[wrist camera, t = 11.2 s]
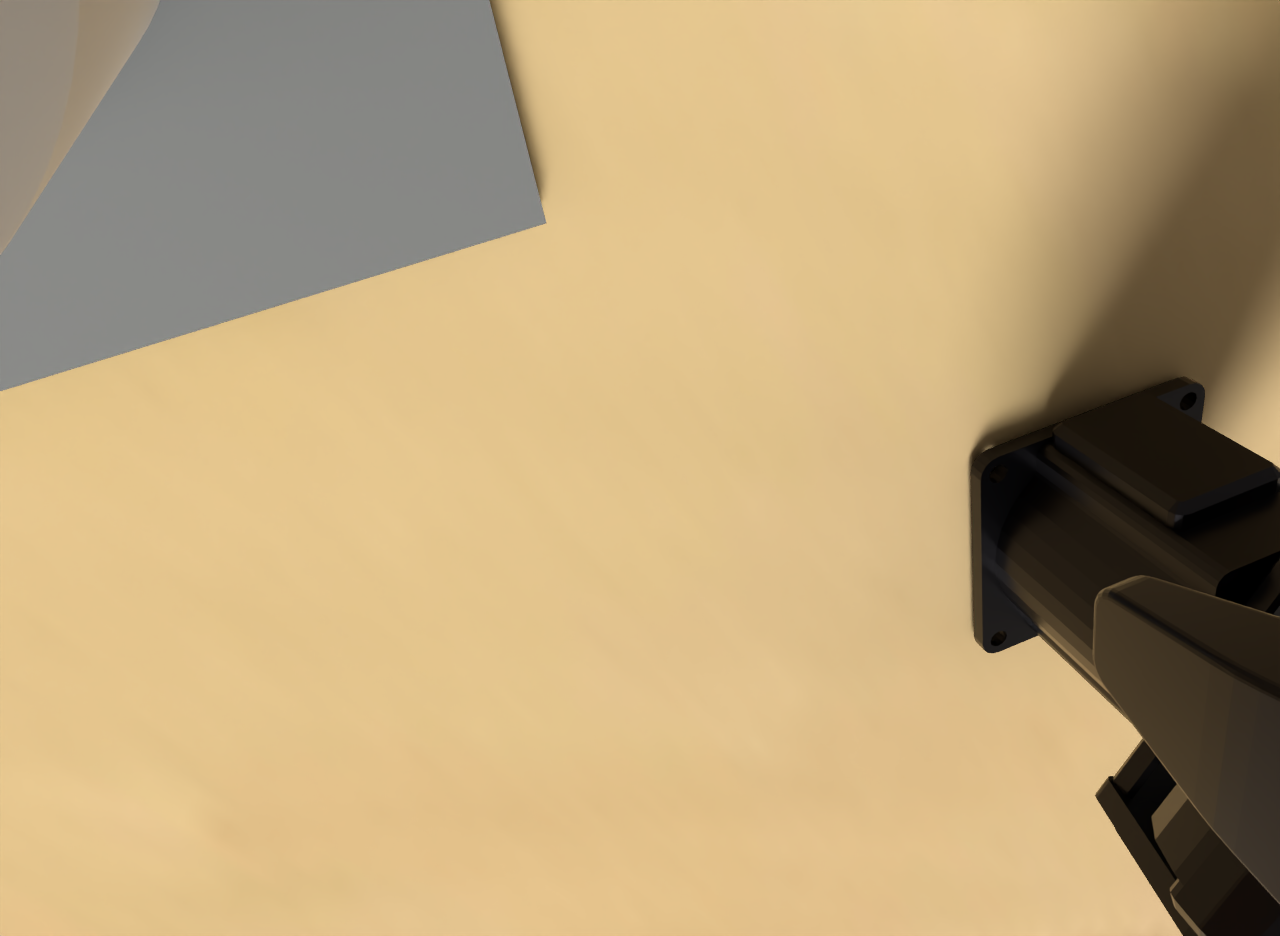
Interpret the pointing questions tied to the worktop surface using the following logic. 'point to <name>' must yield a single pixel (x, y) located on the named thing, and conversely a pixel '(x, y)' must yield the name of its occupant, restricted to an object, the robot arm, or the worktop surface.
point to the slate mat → (264, 172)
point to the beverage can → (55, 85)
